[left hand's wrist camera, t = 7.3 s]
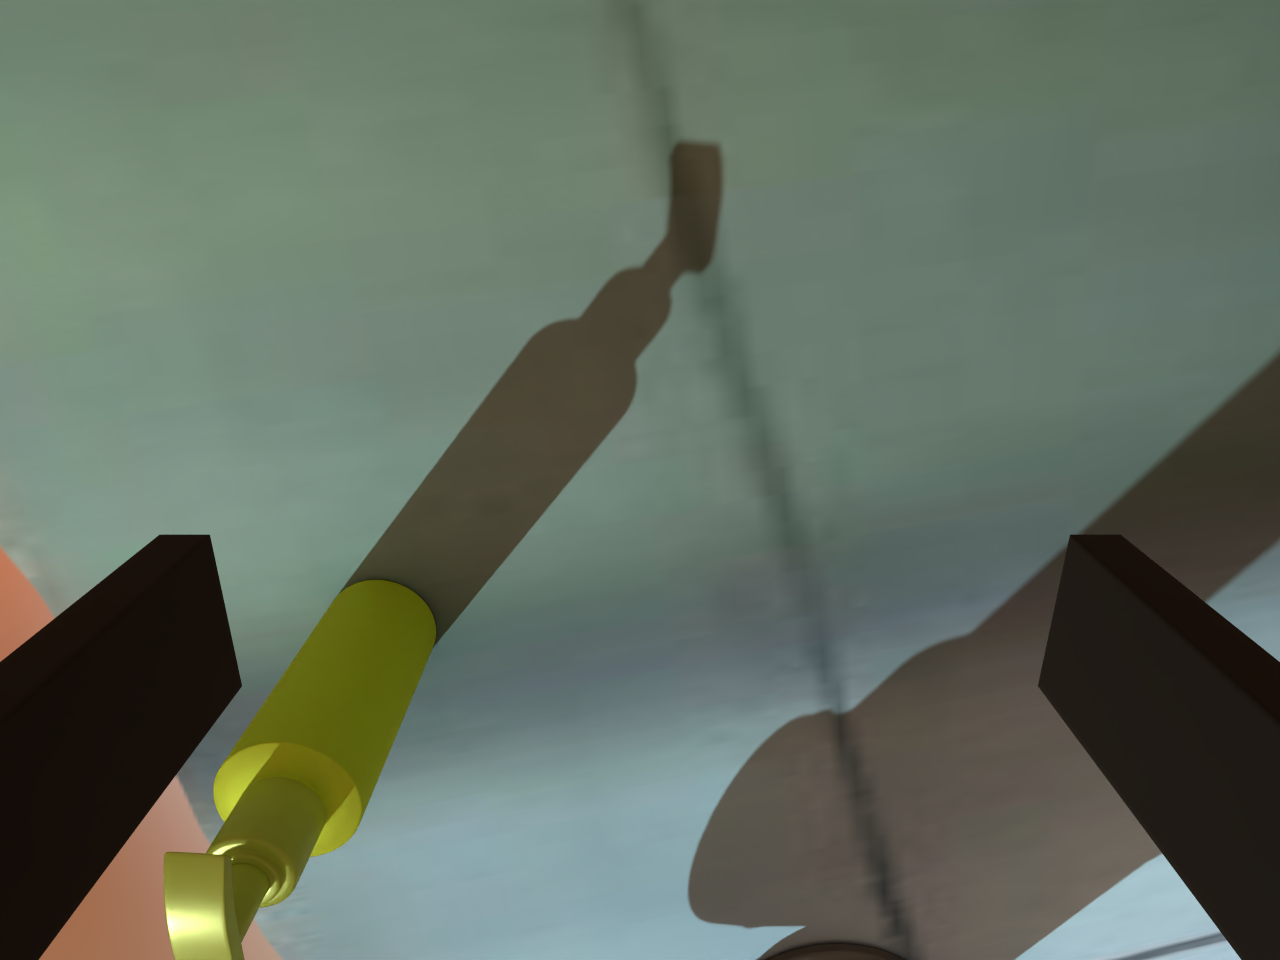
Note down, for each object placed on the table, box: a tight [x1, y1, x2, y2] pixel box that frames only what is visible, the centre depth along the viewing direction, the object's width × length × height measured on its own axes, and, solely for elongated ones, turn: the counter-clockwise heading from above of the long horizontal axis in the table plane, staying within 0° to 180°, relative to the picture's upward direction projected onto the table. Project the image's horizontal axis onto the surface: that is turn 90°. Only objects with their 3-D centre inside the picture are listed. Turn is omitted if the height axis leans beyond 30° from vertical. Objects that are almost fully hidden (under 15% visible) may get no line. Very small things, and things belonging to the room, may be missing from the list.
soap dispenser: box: [164, 580, 436, 960], centre depth 36 cm, size 6×7×20 cm
